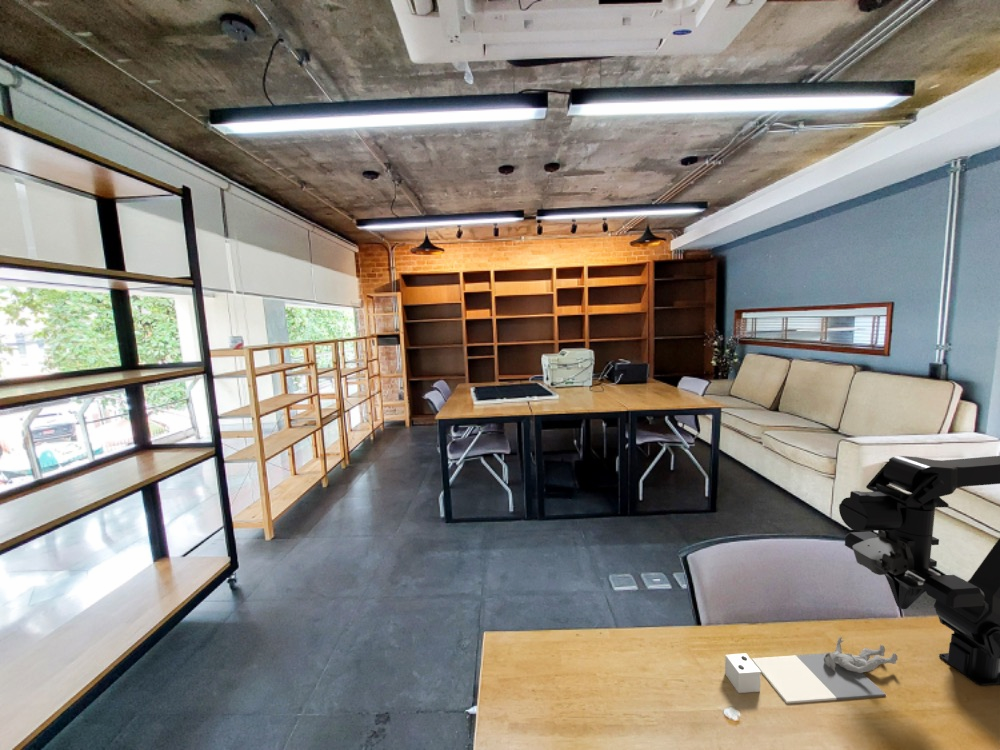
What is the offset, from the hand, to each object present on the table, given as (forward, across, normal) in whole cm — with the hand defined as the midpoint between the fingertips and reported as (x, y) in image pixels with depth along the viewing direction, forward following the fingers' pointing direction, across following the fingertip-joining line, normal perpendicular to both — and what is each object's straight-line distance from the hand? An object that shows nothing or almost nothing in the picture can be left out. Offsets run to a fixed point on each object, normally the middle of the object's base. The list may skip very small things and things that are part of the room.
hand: (901, 607), depth 72 cm
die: (+13, 0, -30) cm, 33 cm away
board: (+13, 0, -16) cm, 21 cm away
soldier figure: (+12, 0, 0) cm, 12 cm away
